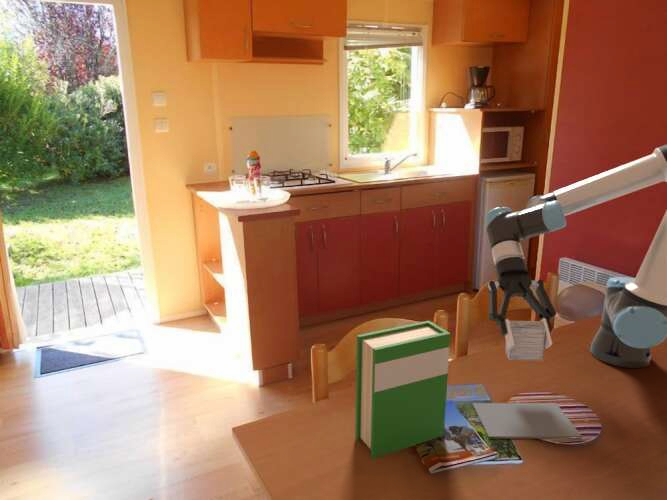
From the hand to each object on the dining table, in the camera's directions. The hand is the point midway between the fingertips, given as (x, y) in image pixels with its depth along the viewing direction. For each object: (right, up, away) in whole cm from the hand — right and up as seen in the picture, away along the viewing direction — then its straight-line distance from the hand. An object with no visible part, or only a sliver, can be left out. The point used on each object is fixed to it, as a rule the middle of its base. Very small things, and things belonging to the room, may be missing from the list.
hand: (530, 346), depth 122 cm
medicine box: (0, -3, +4) cm, 6 cm away
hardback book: (-32, -18, -11) cm, 38 cm away
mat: (-3, -16, -5) cm, 17 cm away
